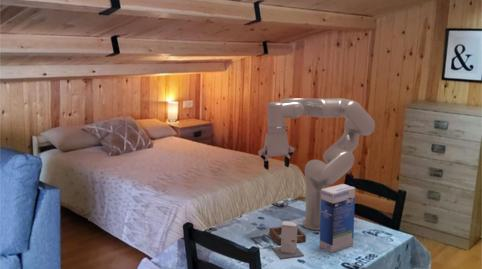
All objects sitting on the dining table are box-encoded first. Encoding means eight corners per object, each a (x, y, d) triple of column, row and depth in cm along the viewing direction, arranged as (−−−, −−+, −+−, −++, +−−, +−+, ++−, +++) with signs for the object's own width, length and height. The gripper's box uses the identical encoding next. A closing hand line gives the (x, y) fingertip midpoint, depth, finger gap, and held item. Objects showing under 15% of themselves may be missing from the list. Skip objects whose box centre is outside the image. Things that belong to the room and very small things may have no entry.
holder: (295, 231, 222) (295, 225, 221) (305, 242, 210) (305, 235, 209) (269, 234, 218) (269, 228, 218) (278, 245, 207) (278, 238, 206)
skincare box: (280, 252, 199) (280, 224, 196) (282, 247, 203) (283, 220, 200) (295, 254, 197) (295, 226, 194) (297, 249, 201) (297, 222, 199)
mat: (294, 246, 206) (294, 245, 206) (303, 256, 196) (303, 254, 196) (272, 249, 203) (272, 247, 203) (280, 259, 194) (280, 258, 194)
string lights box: (341, 239, 212) (343, 183, 207) (354, 245, 206) (356, 187, 201) (318, 247, 205) (320, 188, 200) (331, 253, 199) (333, 193, 194)
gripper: (290, 126, 218) (290, 163, 221) (254, 130, 212) (255, 167, 216) (298, 129, 211) (298, 167, 214) (261, 133, 205) (261, 172, 209)
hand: (276, 167), depth 215 cm, fingers open, 9 cm apart
